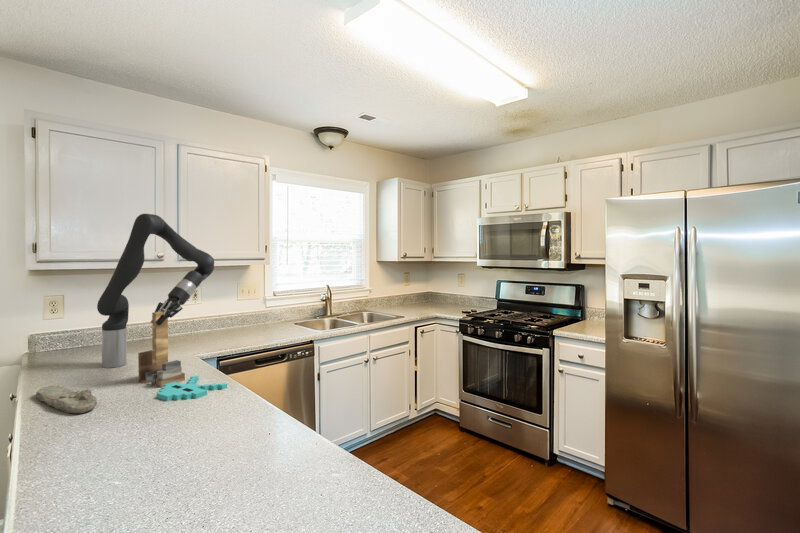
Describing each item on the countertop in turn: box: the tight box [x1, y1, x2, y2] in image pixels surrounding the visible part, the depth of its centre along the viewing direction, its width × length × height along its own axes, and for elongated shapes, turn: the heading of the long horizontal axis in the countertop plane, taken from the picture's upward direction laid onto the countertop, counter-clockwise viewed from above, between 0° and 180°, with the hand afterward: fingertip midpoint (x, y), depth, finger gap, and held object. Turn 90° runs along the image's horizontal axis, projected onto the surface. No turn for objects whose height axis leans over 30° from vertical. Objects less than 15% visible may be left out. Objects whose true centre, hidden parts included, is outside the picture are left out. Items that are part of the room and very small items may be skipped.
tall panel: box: [151, 311, 169, 366], centre depth 165 cm, size 2×5×22 cm, turn 155°
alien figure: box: [156, 375, 228, 402], centre depth 154 cm, size 20×2×20 cm
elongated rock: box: [35, 385, 98, 414], centre depth 141 cm, size 35×5×10 cm
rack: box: [137, 349, 162, 386], centre depth 166 cm, size 10×10×12 cm
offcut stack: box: [155, 359, 186, 388], centre depth 162 cm, size 4×10×8 cm, turn 154°
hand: (155, 323), depth 163 cm, fingers closed on tall panel, 2 cm apart
